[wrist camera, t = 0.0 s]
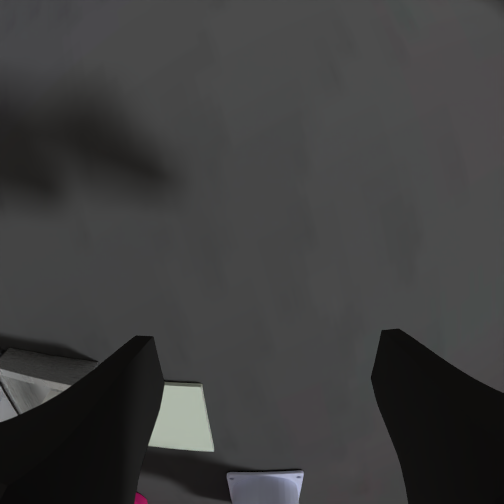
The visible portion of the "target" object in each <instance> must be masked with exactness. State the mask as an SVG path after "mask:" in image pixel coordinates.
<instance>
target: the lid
mask: <svg viewBox="0 0 504 504" xmlns="http://www.w3.org/2000/svg"><path fill="white" fill-rule="evenodd" d="M16 416H18V415H17V413H16V412H15V410H14V408H13V407H12V405H11V403H10V402H9V400H8V398H7V397H6V395H5V393H4V392H3V390H2V388H1V386H0V422H3V421H5V420H8V419H11V418H13V417H16Z"/></svg>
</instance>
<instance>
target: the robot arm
mask: <svg viewBox="0 0 504 504" xmlns="http://www.w3.org/2000/svg"><path fill="white" fill-rule="evenodd" d="M371 381H372V385H373V389H374V393H375V397H376V401H377V404H378V407H379V409H380V412H381V414H382V417H383V420H384V422H385V425H386V427H387V430H388V432H389V435H390V437H391V440H392V442H393V445H394V447H395V450H396V453H397V455H398V458H399V462H400V465H401V469H402V473H403V478H404V482H405V487H406V492H407V498H408V504H504V393H502V392H500V391H497V390H495V389H493V388H491V387H489V386H487V385H485V384H483V383H481V382H479V381H478V380H476V379H474V378H472V377H470V376H469V375H467V374H466V373H464V372H462V371H461V370H459V369H457V368H456V367H454V366H453V365H451V364H450V363H448V362H447V361H445V360H444V359H442V358H441V357H439V356H438V355H436V354H435V353H434V352H432V351H431V350H429V349H428V348H427V347H425V346H424V345H422V344H421V343H419V342H418V341H417V340H415V339H414V338H412V337H411V336H409V335H408V334H406V333H405V332H403V331H402V330H400V329H390V330H382V331H381V336H380V341H379V345H378V350H377V354H376V359H375V363H374V367H373V371H372V375H371ZM164 386H165V382H164V378H163V375H162V371H161V367H160V363H159V359H158V354H157V350H156V346H155V342H154V337H153V336H135V337H133V338H132V339H131V340H129V341H128V342H127V343H126V344H124V345H123V346H122V347H121V348H119V349H118V350H117V351H116V352H115V353H113V354H112V355H111V356H110V357H108V358H107V359H106V360H105V361H104V362H102V363H101V364H100V365H99V366H97V367H96V368H95V369H94V370H92V371H91V372H90V373H88V374H87V375H85V376H84V377H83V378H81V379H80V380H79V381H77V382H76V383H75V384H73V385H72V386H70V387H69V388H68V389H66V390H65V391H63V392H61V393H60V394H58V395H57V396H55V397H53V398H51V399H50V400H48V401H46V402H45V403H43V404H41V405H39V406H37V407H35V408H33V409H31V410H28V411H26V412H24V413H22V414H20V415H18V416H16V417H13V418H11V419H8V420H5V421H3V422H0V504H134V503H135V496H136V490H137V485H138V479H139V474H140V470H141V466H142V462H143V459H144V456H145V453H146V450H147V447H148V444H149V441H150V438H151V435H152V432H153V429H154V426H155V423H156V420H157V417H158V414H159V411H160V407H161V402H162V397H163V391H164ZM303 476H304V472H303V471H301V470H296V471H279V472H228V473H227V481H228V486H229V490H230V495H231V500H232V504H299V495H300V490H301V486H302V481H303Z"/></svg>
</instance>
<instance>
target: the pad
mask: <svg viewBox="0 0 504 504" xmlns="http://www.w3.org/2000/svg"><path fill="white" fill-rule="evenodd" d="M148 446H154V447H163V448H172V449H182V450H195V451H211V452H214V444H213V439H212V435H211V430H210V425H209V420H208V415H207V409H206V404H205V399H204V393H203V387H202V384H196V383H176V382H165V386H164V391H163V397H162V402H161V407H160V411H159V414H158V417H157V420H156V423H155V426H154V429H153V432H152V435H151V438H150V441H149V444H148Z"/></svg>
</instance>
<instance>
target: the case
mask: <svg viewBox="0 0 504 504" xmlns="http://www.w3.org/2000/svg"><path fill="white" fill-rule="evenodd" d="M97 366H99V364H98V362H95V361H87V360H80V359H73V358H66V357H59V356H53V355H47V354H42V353H36V352H31V351H25V350H20V349H16V348H11V347H10V348H9V349H8V350H7V351H6V352H5V353H4V351H3V349H0V385H1V384H2V385H3V387H4V389H5V390H6V392H7V394H8V396H9V397H10V399H11V401H12V403H13V404H14V406H15V407H16V409H17V411H18V412H19V414H22V413H24V412H26V411H28V410H31V409H33V408H35V407H37V406H39V405H41V404H42V402H43V400H44V399H45V397H46V396H47V394H48V393H49V391H50V390H51V391H56V392H60V393H61V392H63V391H65V390H66V389H68V388H69V387H70V386H72V385H73V384H75V383H76V382H77V381H79V380H80V379H81V378H83V377H84V376H85V375H87V374H88V373H90V372H91V371H92V370H94V369H95V368H96V367H97Z"/></svg>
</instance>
